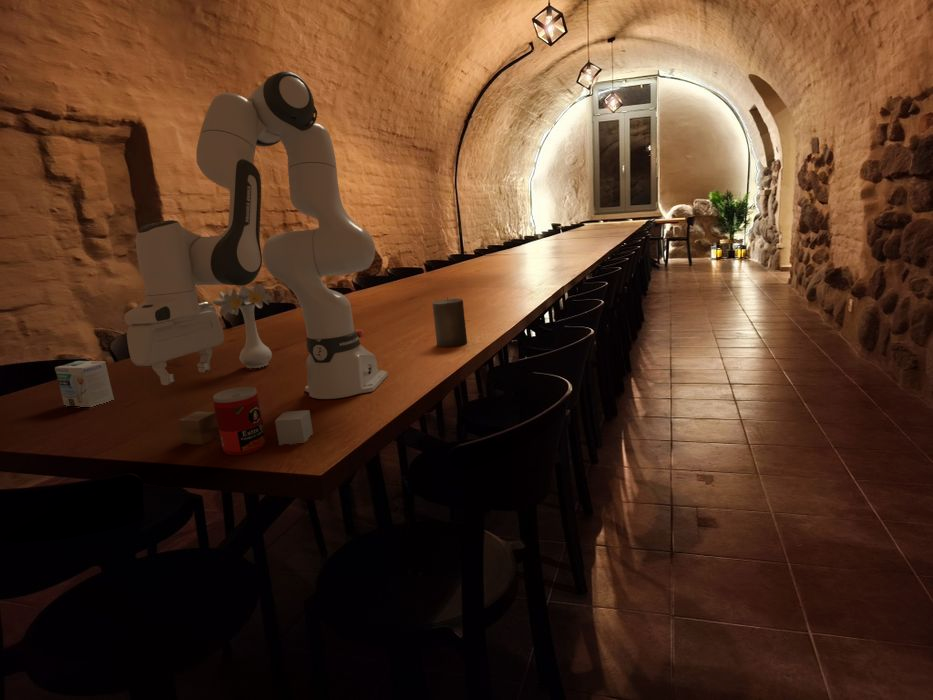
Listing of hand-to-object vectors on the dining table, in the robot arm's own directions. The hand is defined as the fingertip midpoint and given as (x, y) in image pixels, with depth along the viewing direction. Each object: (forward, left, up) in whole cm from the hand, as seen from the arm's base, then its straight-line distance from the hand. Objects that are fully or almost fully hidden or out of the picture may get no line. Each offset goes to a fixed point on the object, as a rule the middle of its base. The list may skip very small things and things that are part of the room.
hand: (187, 377), depth 114 cm
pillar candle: (-81, +25, -13) cm, 86 cm away
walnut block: (0, 0, -13) cm, 13 cm away
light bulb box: (-19, -54, -13) cm, 59 cm away
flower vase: (-54, -29, -13) cm, 63 cm away
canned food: (+3, +13, -13) cm, 19 cm away
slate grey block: (-2, +21, -13) cm, 25 cm away
